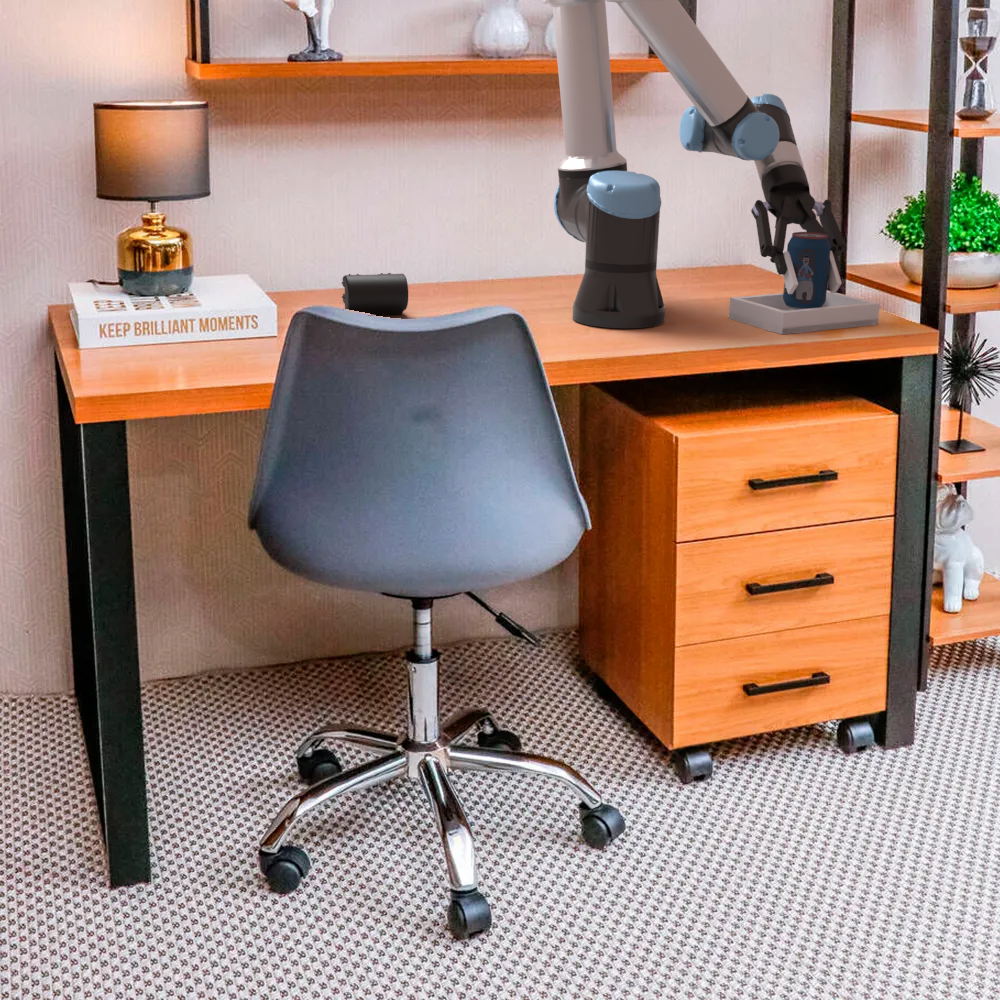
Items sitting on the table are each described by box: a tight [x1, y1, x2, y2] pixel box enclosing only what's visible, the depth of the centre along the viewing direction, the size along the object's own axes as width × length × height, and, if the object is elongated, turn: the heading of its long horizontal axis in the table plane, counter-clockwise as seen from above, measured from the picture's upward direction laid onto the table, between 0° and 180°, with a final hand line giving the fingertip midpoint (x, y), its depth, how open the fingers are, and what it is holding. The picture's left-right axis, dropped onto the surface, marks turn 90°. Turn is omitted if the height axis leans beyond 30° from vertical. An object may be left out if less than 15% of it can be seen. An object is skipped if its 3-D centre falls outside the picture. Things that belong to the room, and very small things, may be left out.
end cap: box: [341, 272, 409, 316], centre depth 236 cm, size 10×7×7 cm
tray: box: [728, 289, 881, 335], centre depth 237 cm, size 20×14×4 cm
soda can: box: [782, 231, 831, 310], centre depth 235 cm, size 7×7×12 cm
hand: (814, 288), depth 232 cm, fingers closed on soda can, 7 cm apart
